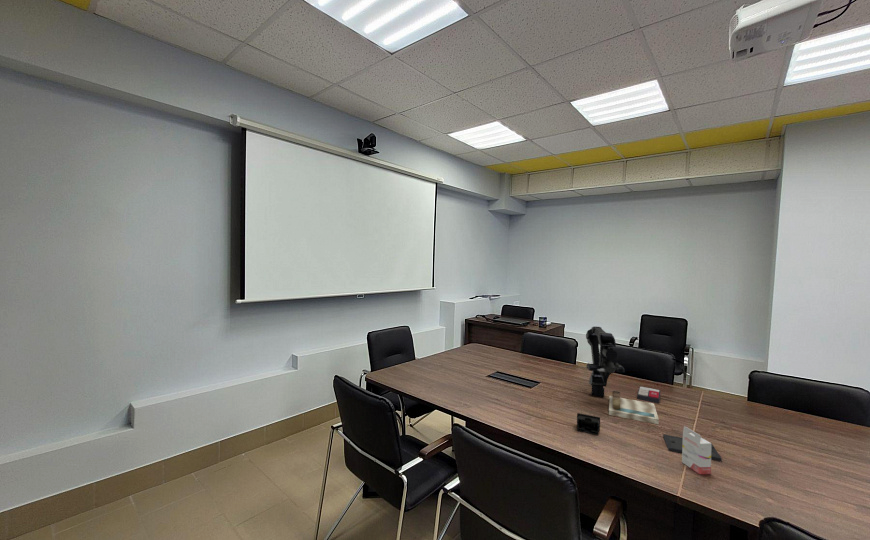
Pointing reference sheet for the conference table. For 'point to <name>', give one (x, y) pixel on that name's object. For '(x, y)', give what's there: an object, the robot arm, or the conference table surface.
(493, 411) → the conference table surface
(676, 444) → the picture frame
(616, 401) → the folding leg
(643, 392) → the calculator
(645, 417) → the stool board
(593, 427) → the end cap
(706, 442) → the ink cartridge box
